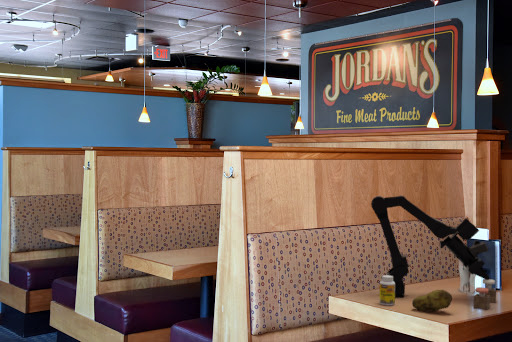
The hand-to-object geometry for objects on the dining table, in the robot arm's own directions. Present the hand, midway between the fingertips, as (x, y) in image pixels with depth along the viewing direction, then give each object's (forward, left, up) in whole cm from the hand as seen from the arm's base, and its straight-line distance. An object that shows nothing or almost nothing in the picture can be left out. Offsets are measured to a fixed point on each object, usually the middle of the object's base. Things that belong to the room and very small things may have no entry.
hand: (488, 279), depth 234 cm
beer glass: (-5, +16, -8) cm, 19 cm away
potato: (-24, -21, -8) cm, 33 cm away
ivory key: (0, 0, -5) cm, 6 cm away
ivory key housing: (0, 0, -8) cm, 8 cm away
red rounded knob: (-5, -12, -6) cm, 15 cm away
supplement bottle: (-39, -13, -8) cm, 41 cm away
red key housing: (-5, -12, -8) cm, 15 cm away
